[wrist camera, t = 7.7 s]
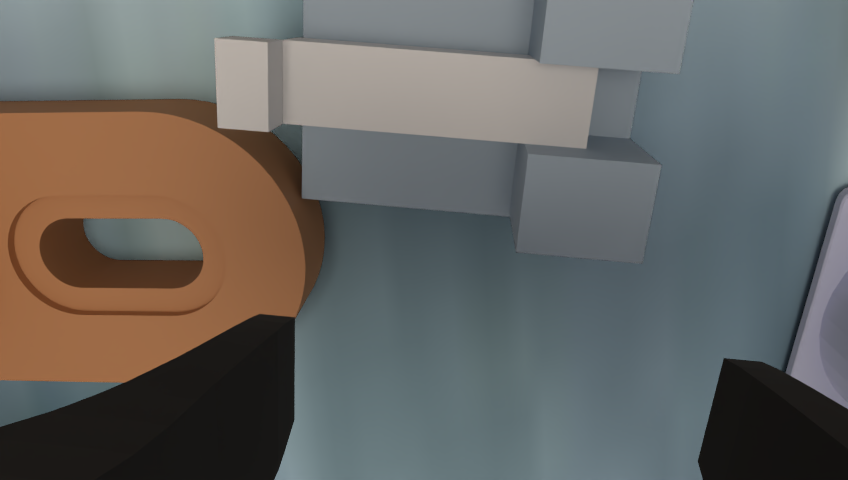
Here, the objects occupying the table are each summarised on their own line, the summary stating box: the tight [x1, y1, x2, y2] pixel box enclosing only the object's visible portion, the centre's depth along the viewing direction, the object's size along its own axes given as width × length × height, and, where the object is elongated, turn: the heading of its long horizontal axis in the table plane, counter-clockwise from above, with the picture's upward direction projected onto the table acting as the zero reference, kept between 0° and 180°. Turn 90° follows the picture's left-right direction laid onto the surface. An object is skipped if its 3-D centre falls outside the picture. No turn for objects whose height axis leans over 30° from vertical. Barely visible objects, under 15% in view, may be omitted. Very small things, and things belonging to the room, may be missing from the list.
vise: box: [214, 0, 694, 264], centre depth 16 cm, size 10×11×5 cm
